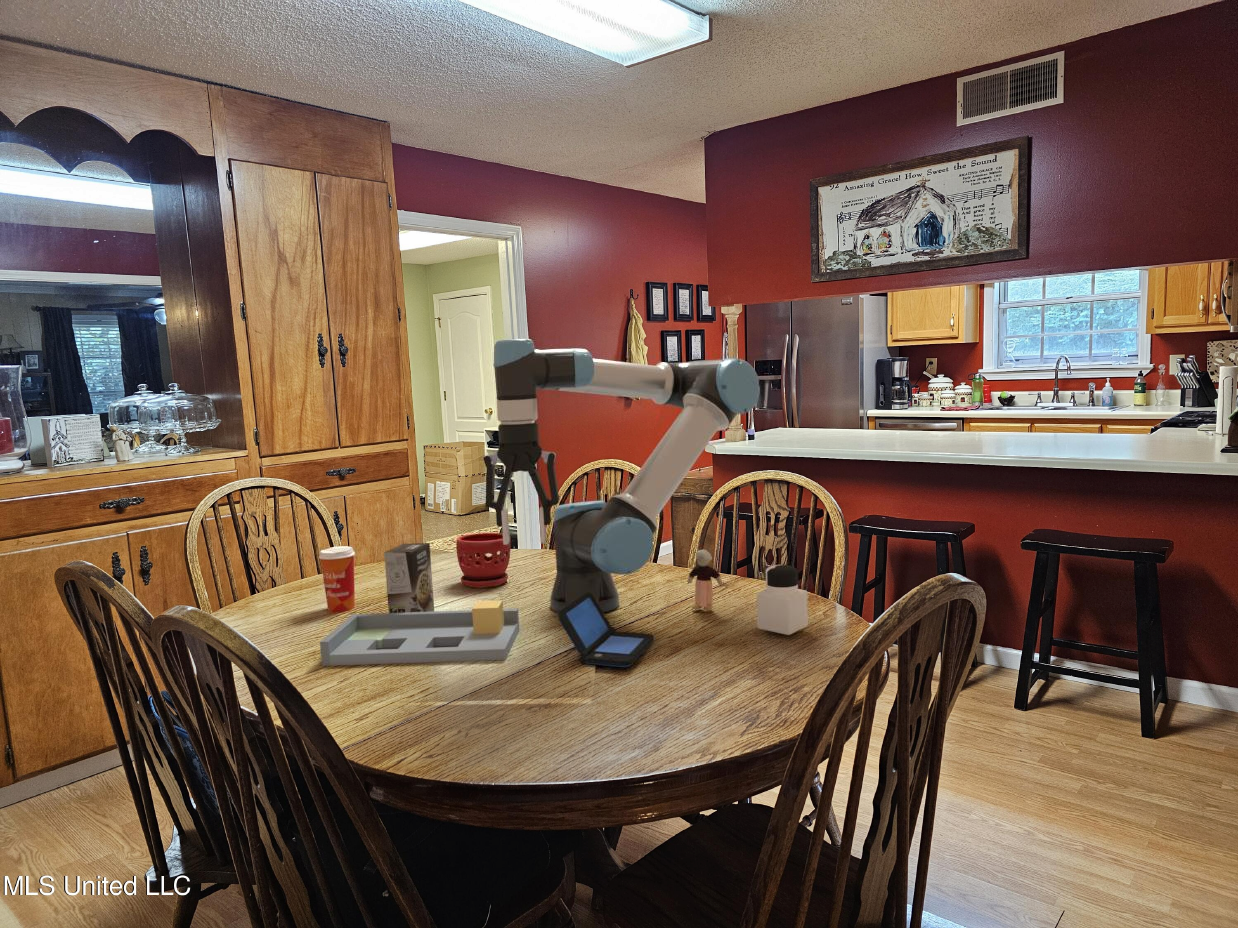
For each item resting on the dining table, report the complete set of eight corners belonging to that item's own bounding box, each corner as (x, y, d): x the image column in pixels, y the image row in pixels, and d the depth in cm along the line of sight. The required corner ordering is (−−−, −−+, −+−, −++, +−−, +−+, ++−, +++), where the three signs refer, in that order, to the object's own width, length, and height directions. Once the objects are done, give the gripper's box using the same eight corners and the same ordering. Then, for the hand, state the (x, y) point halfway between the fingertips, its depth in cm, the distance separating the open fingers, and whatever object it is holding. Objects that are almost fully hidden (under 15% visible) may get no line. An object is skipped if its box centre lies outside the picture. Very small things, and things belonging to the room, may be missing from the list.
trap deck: (519, 630, 161) (518, 608, 160) (505, 659, 144) (503, 635, 144) (354, 635, 162) (352, 614, 161) (322, 665, 145) (319, 641, 145)
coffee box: (417, 628, 165) (411, 551, 163) (388, 627, 166) (382, 551, 164) (436, 615, 174) (430, 542, 172) (408, 614, 175) (403, 542, 173)
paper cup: (316, 614, 178) (310, 552, 177) (340, 604, 185) (334, 545, 184) (344, 616, 175) (338, 554, 174) (367, 606, 182) (362, 546, 181)
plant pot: (508, 589, 192) (505, 540, 190) (453, 591, 192) (450, 542, 191) (516, 575, 205) (513, 529, 203) (465, 577, 205) (461, 531, 204)
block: (504, 624, 158) (502, 600, 157) (499, 633, 153) (498, 607, 152) (479, 625, 158) (477, 601, 158) (473, 633, 153) (472, 608, 153)
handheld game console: (629, 670, 137) (626, 617, 136) (557, 664, 142) (555, 613, 141) (656, 640, 152) (654, 592, 151) (590, 635, 156) (588, 589, 155)
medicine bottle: (808, 625, 155) (807, 565, 154) (789, 635, 150) (787, 573, 149) (776, 619, 160) (775, 560, 159) (756, 628, 155) (755, 568, 154)
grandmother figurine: (686, 610, 169) (683, 551, 167) (688, 605, 173) (686, 547, 171) (722, 611, 167) (720, 551, 166) (724, 605, 171) (722, 547, 169)
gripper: (571, 418, 154) (577, 536, 157) (471, 423, 155) (478, 540, 157) (567, 421, 147) (573, 544, 149) (462, 425, 147) (470, 548, 150)
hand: (525, 542), depth 153 cm, fingers open, 6 cm apart
